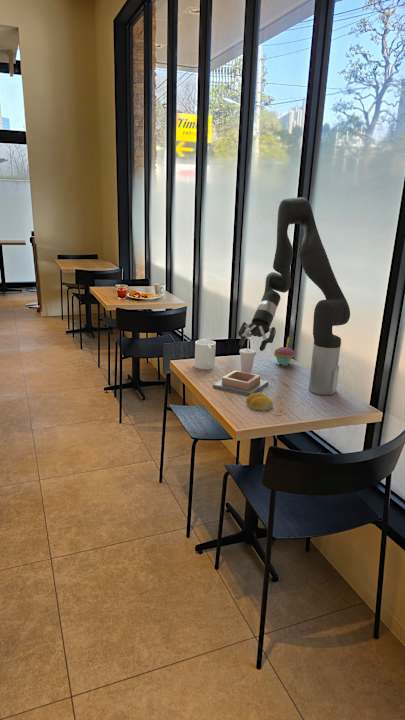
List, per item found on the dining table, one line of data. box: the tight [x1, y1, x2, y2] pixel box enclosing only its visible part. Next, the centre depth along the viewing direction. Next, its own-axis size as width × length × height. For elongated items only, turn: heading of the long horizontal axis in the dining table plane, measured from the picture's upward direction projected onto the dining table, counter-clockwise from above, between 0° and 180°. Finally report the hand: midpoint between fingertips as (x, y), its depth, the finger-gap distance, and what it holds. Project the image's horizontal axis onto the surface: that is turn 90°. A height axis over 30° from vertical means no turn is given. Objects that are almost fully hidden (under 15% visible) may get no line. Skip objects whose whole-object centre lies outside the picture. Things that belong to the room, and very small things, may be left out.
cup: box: [194, 339, 217, 370], centre depth 193 cm, size 8×12×10 cm
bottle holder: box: [212, 369, 269, 397], centre depth 175 cm, size 15×15×4 cm
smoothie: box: [239, 338, 257, 373], centre depth 187 cm, size 6×6×14 cm
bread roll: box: [245, 392, 273, 412], centre depth 158 cm, size 8×9×4 cm
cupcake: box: [273, 336, 295, 366], centre depth 202 cm, size 9×8×12 cm
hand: (250, 348), depth 188 cm, fingers open, 8 cm apart
